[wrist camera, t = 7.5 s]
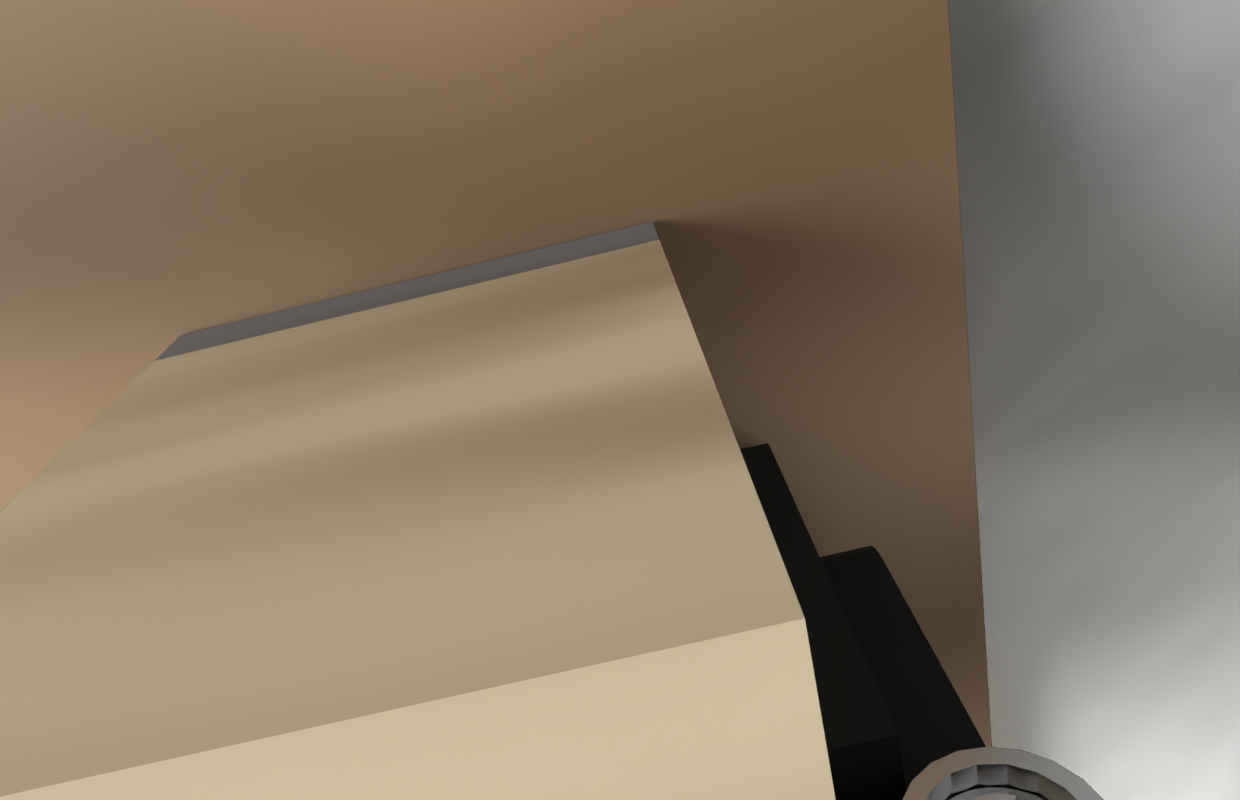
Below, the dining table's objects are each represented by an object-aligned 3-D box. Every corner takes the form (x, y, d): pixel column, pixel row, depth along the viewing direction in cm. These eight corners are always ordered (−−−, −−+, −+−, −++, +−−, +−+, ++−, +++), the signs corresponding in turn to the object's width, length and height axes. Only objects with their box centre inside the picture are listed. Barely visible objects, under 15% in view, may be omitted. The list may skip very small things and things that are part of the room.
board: (-324, -205, 8) (-520, -244, 6) (841, -530, 7) (910, -649, 6) (431, 1069, 16) (420, 1170, 15) (970, 957, 16) (1010, 1050, 15)
